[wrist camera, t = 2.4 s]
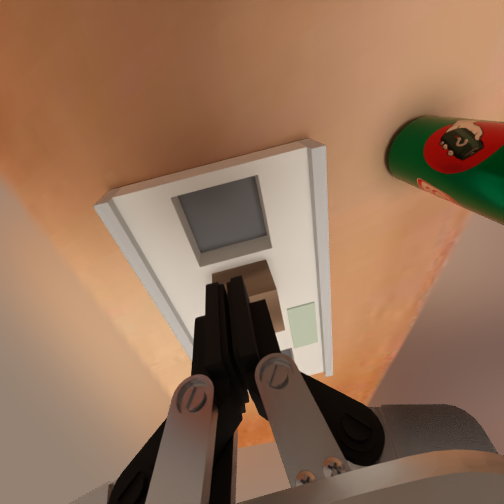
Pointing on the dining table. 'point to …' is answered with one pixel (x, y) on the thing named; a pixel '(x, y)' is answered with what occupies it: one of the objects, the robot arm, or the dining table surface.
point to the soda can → (454, 161)
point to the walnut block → (256, 287)
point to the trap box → (235, 240)
